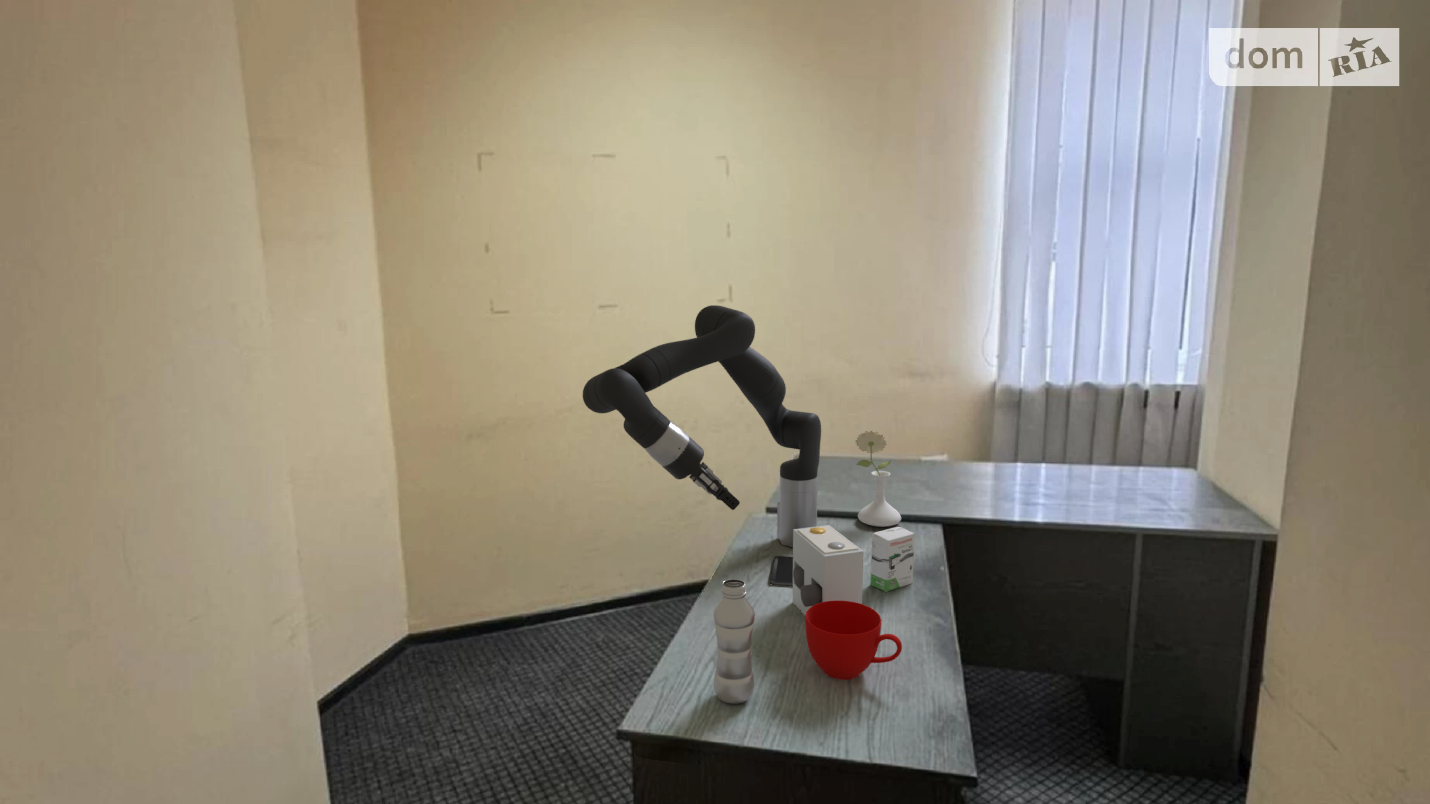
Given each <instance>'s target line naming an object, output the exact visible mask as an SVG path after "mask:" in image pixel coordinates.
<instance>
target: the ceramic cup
mask: <svg viewBox="0 0 1430 804" xmlns="http://www.w3.org/2000/svg"><path fill="white" fill-rule="evenodd" d="M804 625H805V635H806V637H805V638H806V643H807V646H808V650H809V652H810V654H811V657H812V659H813V660H814V662H815V663H816V665H817V666H818V667H819V668H820V670H821V671H822V672H823V673H824V674H825V675H826V676H828V677H830V678H832V679H835V680H841V681H849V680H854V679H856V678H858V677H859V676H860V675H861V674H862V673H863V672H864V671H866V670H867V669H868V668H869V666H870V665H871V664H881V663H888V662H891V661H894V660H895V659H897V658H898V657H899V656H900V654H901V653H902V649H903V645H902V641H901V639H900V638H899V637H898V636H896V635H895V634H891V633H884V634H881V632H882V631H881V629H882V617H881V616H880V614H879V613H878V612H877V611H876V610H875V609H873V608H872V607H870V606H868V605H865V604H863V603H862V604H860V603H856V602H851V601H839V600H836V601H826V602H821V603H818V604H816V605H813V606H812V607H810V608H809V609H808V610H807V612H806V615H804ZM884 640H889V641H892V642H894V643H895V645H896V651H895V652H894V653H893V654H892V655H889V656H881V657H877V656H876V654H877V651H878V648H879V645H880V644H881V642H882V641H884Z"/></svg>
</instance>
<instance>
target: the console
mask: <svg viewBox="0 0 1430 804" xmlns="http://www.w3.org/2000/svg"><path fill="white" fill-rule="evenodd" d="M792 557H793V571H794V568H795V567H801V568H803V569H804V585H810V584H817V583H818V584H819V585H820V586H821V587H822V602H826V601H836V600H839V601H851V602H856V603H860V604H863V583H864V582H863V580H864V578H863V577H864V550H863V549H861V548H860V547H859V546H858V545H856V544H855V543H853V541H851V540H849V538H847V537H845V536H844V535H843V534H841V532H839V531H837V530H836V529H835V528H834V527H832V526H831V525H830V524H826V525H817V527H808V528H800V529H793V547H792ZM792 604H793V605H794V604H795V605H796V606H797V607H798V608H799V609H798V608H797V607H796V606H795V605H794V606H795V607H796V608H797V609H798V611H800V610H801V611H800V612H801V613H802V615H803V616H805V615H806V612H807V610H808V609H809V608H810V607H812V606H809V607H805V606H804V605H803V603H802V600H801V587H797V586H796V584H795V582H794V577H793V587H792Z"/></svg>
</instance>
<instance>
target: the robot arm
mask: <svg viewBox="0 0 1430 804" xmlns="http://www.w3.org/2000/svg"><path fill="white" fill-rule="evenodd" d="M694 332H695V337H693V338H688V339H683V340H677V341H671V342H665V343H663V344H659V345H657V346H654V347H651V348H649V349H647V350H646V351H644V352H641V353H639V354H638V355H636V356H634V357H632V358H631V359H629V360H628V361H627V362H625V363H623V364H621V365H619V366H616V367H614V368H610V369H607V370H605V371H602V372H601V373H598V374H596V375H594V376H592V377H591V378H590V379H589V380H587V382H586V383H585V385H584V387H583V388H582V389H583V390H582V401H583V403H584V405H585V406H586V408H588V409H589V410H590V411H592V412H593V413H597V414H608V413H612V412H614V411H617V412H619V414H620V415H621V416H622V417H623V419H624V421H623V429H624V431H625V433H627V435H628V436H630V437H631V439H632V440H634V441H635V442H636V443H637V444H638V445H639V446H640V447H642V449H644V450H645V452H646V453H648V454H649V456H650V457H651V458H652V459H653V460H654V461H655V462H656V463H657V464H659V465H660V466H661V467H662V468H663V469H664V470H665V471H667V473H668V474H669V475H671V476H672V477H673V478H674V479H676V480H683V479H686V478H689V479H690V480H691V481H692V482H693V483H694V484H695V485H696V486H697V487H699V488H702V489H703V490H704V491H705V492H706V493H707V494H708V495H713V496H714V497H715V498H716V499H717V500H718V501H721V502H722V503H723V504H725V505H726V506H727V507H728V508H729V509H731V510H732V511H734V510H736V509H737V508H738V507H739V505H740V504H741V503H740V500H739V499H738V498H736V496H734V494H733V493H731V492H730V491H729V489H728V488H727V487H726V486H725V484H722V483H723V481H722V480H721V479H720V477H718V476H717V475H716V474H715V473H714V471H713V470H712V469H711V468H710V467H709V466H708V465H707V464H706V462H704V461H702V460H704V456H705V450H704V448H703V447H701V445H699V444H698V443H697V442H696V441H695V440H694V439H693V438H692V437H691V436H689V435H688V434H687V433H686V432H685V431H684V430H683V429H682V427H680V426H679V425H677V424H675V423H674V422H673V421H671V420H670V419H669V418H668V417H667V416H665V414H664V413H663V412H661V410H659V409H658V408H657V407H656V406H654V404H653V403H652V402H651V399H650V398H649V396H648V395H647V393H648V392H652V391H654V390H656V389H658V388H659V387H662V386H663V385H665V384H667V383H668V382H671V381H672V380H674V379H676V378H678V377H680V376H683V375H684V374H687V373H689V372H691V371H694V370H697V369H700V368H703V367H706V366H708V365H711V364H714V363H719V364H720V365H721V366H722V367H723V369H724V370H725V372H726V373H727V374H728V376H729V377H730V378H731V379H732V380H733V382H734V383H735V384H736V386H737V387H738V388H739V390H740V391H741V393H742V394H743V396H744V397H745V398H746V400H747V401H748V403H750V405H751V406H752V407H753V408H754V409H755V411H756V412H757V413H758V415H759V416H760V418H761V419H762V421H763V422H764V424H765V426H766V427H767V429H768V431H769V433H770V434H771V436H772V438H773V440H774V441H775V443H776V444H778V445H779V446H781V447H783V448H785V449H786V448H788V449H794V450H799V453H798V458H794V459H789V460H785V461H783V462H782V463H781V464H780V466H779V502H778V503H777V505H776V506H777V507H776V508H777V509H776V510H777V514H776V516H777V517H776V518H777V519H776V522H777V523H776V525H777V526H776V527H777V529H776V539H777V540H778V541H779V543H780V544H781V545H783V546H785V547H790V548H793V529H800V528H808V527H817V526H818V524H817V523H818V471H819V465H820V455H821V453H820V452H821V450H820V449H821V440H822V423H821V419H820V417H819V415H817V414H816V413H812V412H807V411H799V410H798V411H797V410H790V409H788V408H786V406H784V404H783V402H784V400H785V397H786V394H787V393H786V391H787V387H786V383H785V380H784V378H783V377H782V375H781V374H780V373H779V371H778V370H777V368H776V367H775V365H774V364H773V363H772V362H771V361H770V360H769V359H767V358H766V357H765V356H764V355H762V354H761V353H760V352H758V351H756V350H755V349H754V348H752V346H751V345H752V344H753V343H754V342H753V341H754V339H755V335H756V325H755V322H754V320H753V318H752V317H751V316H750V315H749V314H748V313H745V312H743V311H740V310H738V309H733V308H730V307H726V306H724V305H717V304H716V305H707V306H705V307H703V308H702V309H701V310H699V312H698V313H697V314H696V317H695V320H694Z"/></svg>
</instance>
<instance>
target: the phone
mask: <svg viewBox="0 0 1430 804" xmlns="http://www.w3.org/2000/svg"><path fill="white" fill-rule="evenodd" d="M768 581H769V582H768V583H770V584H772V585H771V586H773V585H778V586H777V587H789V586H793V556H789V555H786V556H785V555H777V556H774V557H773V562H772V565H771V571H770V575H769V580H768ZM770 584H769V585H770Z"/></svg>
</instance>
